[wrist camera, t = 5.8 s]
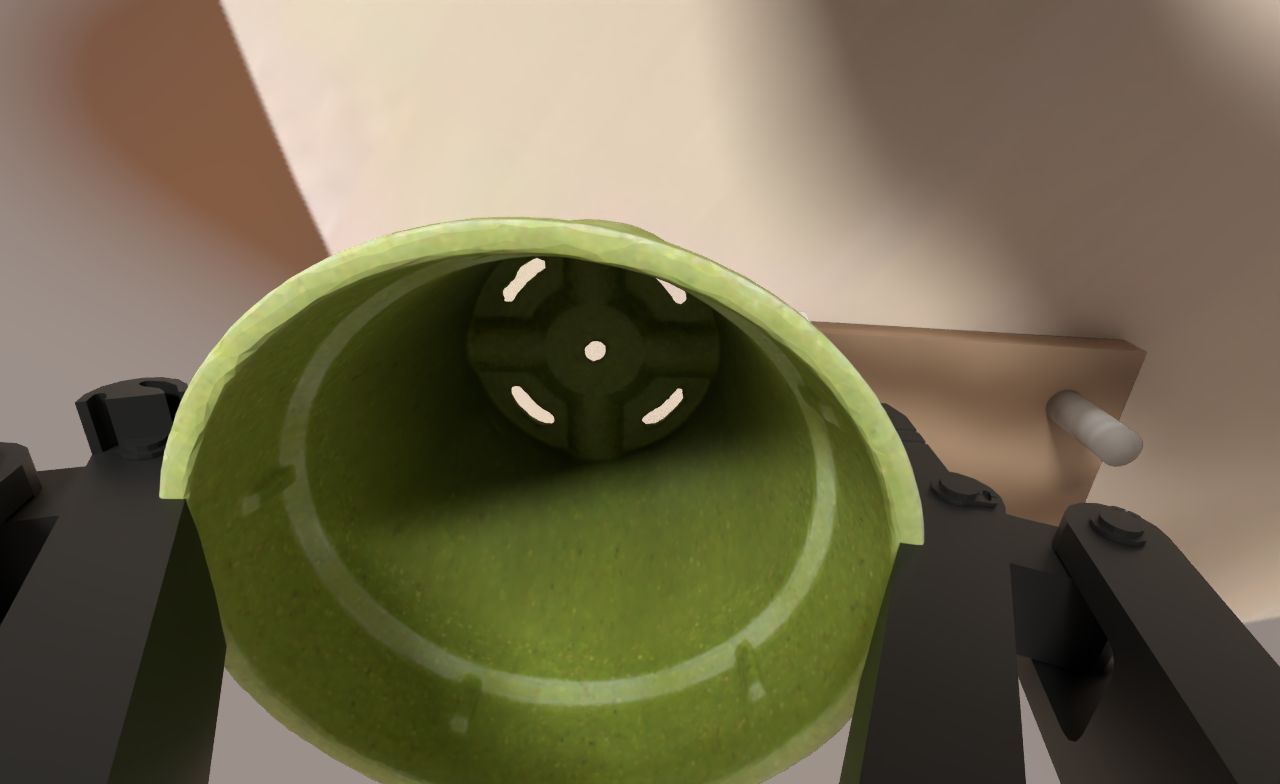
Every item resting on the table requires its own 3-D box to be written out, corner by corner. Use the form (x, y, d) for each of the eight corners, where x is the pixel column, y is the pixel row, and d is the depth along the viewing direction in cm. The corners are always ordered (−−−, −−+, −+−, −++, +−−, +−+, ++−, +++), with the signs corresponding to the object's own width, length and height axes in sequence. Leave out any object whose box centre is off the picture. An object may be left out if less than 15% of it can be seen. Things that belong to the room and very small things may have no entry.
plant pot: (608, 561, 19) (581, 900, 11) (324, 351, 16) (26, 606, 8) (866, 340, 16) (1078, 590, 8) (573, 38, 13) (470, -19, 5)
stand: (780, 319, 30) (808, 366, 25) (1124, 340, 30) (1219, 389, 25) (736, 594, 37) (751, 673, 32) (1018, 607, 37) (1077, 688, 32)
